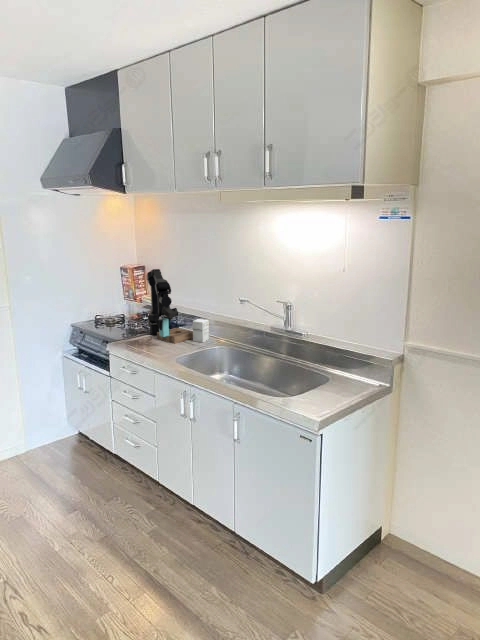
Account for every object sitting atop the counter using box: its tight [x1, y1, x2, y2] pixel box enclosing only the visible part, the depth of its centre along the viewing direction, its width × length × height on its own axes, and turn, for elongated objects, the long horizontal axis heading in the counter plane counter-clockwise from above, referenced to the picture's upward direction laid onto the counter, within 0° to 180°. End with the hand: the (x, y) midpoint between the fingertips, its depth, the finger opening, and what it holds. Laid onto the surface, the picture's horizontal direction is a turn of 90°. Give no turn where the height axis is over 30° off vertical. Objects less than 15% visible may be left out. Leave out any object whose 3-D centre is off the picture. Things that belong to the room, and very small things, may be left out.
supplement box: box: [192, 318, 210, 343], centre depth 289 cm, size 7×7×13 cm
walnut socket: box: [156, 327, 193, 344], centre depth 295 cm, size 16×16×4 cm
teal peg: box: [159, 317, 170, 337], centre depth 277 cm, size 4×4×10 cm
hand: (163, 329), depth 277 cm, fingers closed on teal peg, 4 cm apart
